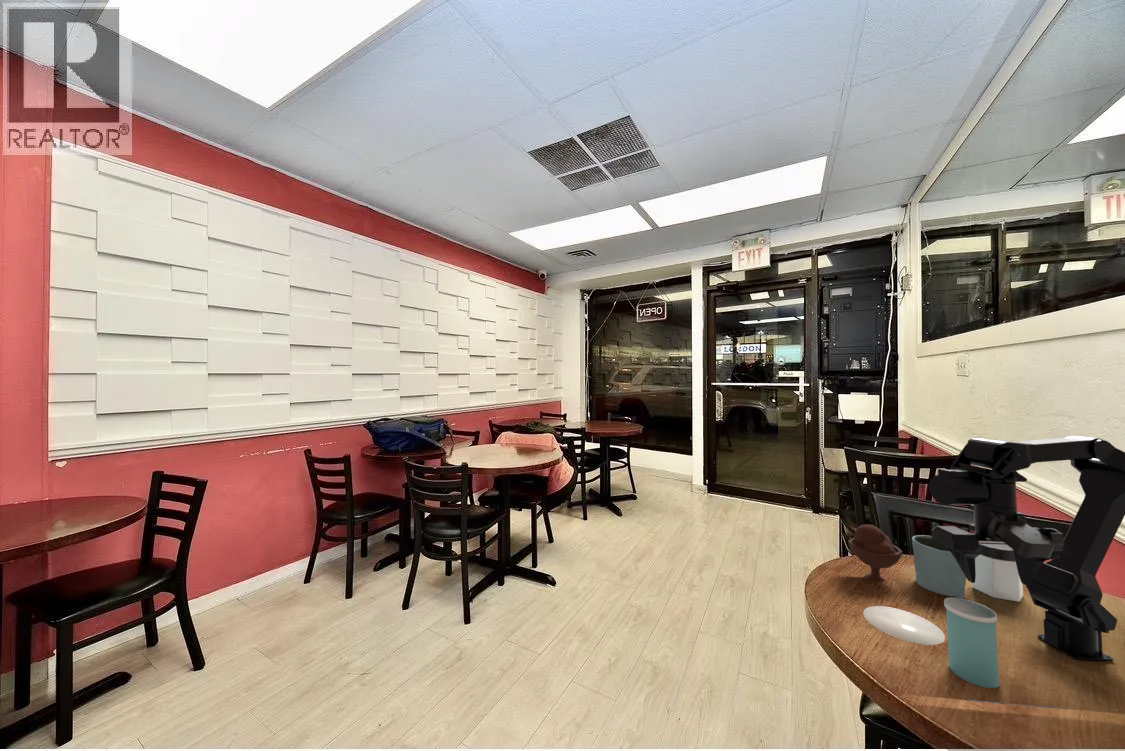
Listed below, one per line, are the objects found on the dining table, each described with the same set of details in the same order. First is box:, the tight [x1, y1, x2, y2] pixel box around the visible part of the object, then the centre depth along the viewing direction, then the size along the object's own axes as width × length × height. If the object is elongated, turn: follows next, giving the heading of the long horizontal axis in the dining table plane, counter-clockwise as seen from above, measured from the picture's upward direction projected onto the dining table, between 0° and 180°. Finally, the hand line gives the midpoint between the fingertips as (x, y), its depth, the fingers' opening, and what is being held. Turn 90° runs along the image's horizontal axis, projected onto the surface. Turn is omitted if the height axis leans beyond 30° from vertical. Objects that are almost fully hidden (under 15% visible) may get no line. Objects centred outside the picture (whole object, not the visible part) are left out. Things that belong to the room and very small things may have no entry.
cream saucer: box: [862, 605, 946, 646], centre depth 81 cm, size 13×13×1 cm
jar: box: [971, 538, 1024, 603], centre depth 94 cm, size 9×8×12 cm
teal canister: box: [943, 597, 1000, 689], centre depth 67 cm, size 6×6×12 cm
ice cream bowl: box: [847, 524, 903, 583], centre depth 100 cm, size 11×11×15 cm
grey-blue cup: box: [911, 534, 967, 599], centre depth 95 cm, size 10×10×12 cm
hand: (998, 583), depth 74 cm, fingers open, 9 cm apart
